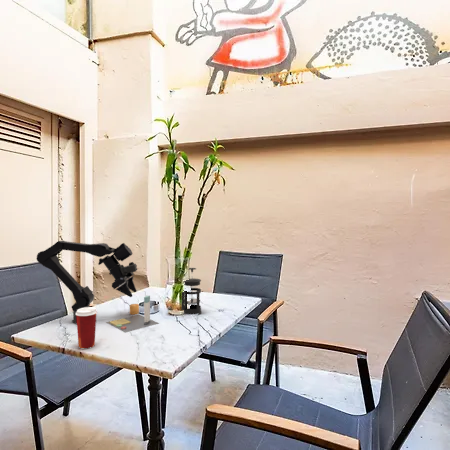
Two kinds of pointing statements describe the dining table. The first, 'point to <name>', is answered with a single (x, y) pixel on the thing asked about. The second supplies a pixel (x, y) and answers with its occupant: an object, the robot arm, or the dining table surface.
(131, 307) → the cap
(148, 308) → the lever
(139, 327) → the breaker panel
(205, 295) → the dining table surface
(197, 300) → the french press
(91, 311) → the paper cup
